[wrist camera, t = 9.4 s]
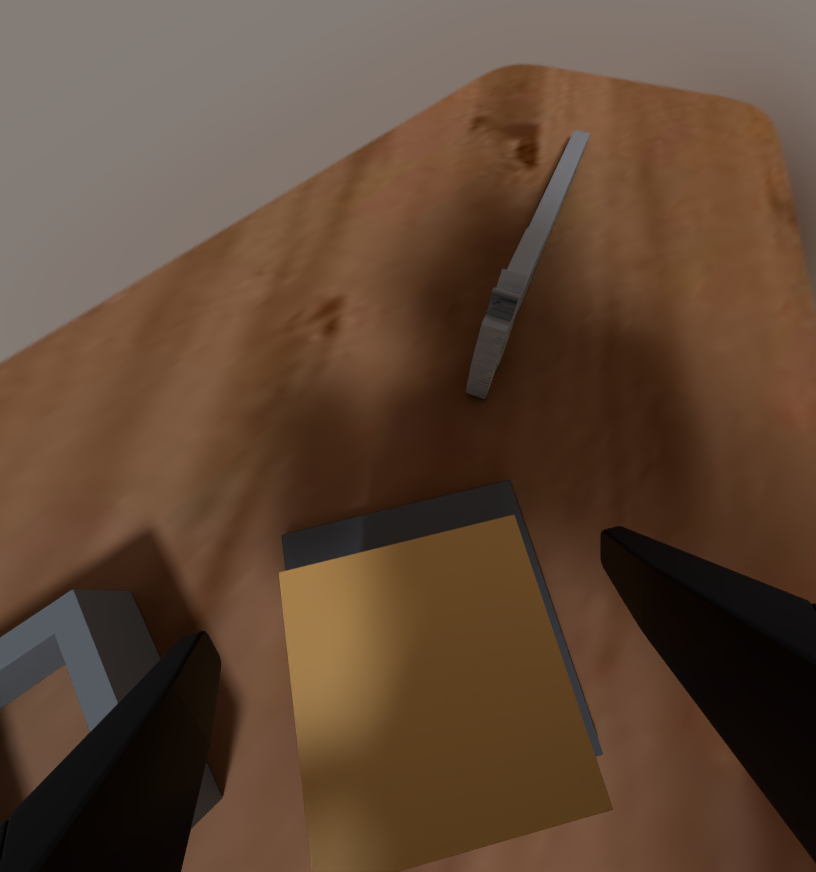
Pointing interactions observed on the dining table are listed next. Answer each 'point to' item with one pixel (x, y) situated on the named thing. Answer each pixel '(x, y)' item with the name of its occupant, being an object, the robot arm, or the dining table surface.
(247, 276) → the dining table surface
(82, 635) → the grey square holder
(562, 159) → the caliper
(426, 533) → the mat
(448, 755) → the block
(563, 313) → the dining table surface
